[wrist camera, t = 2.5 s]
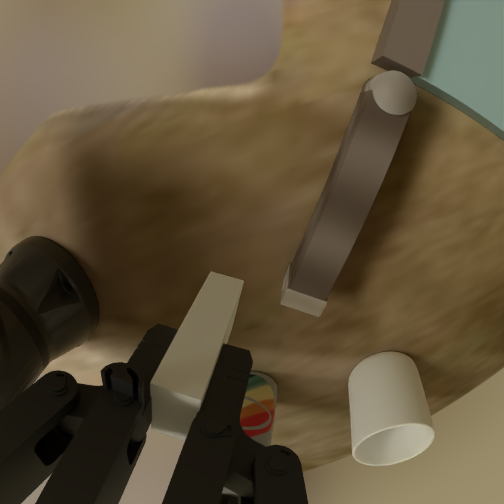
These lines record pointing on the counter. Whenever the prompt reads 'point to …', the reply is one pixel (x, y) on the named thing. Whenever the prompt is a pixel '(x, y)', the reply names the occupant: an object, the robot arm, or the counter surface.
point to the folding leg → (349, 190)
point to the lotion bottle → (256, 417)
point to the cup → (388, 410)
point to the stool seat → (450, 53)
